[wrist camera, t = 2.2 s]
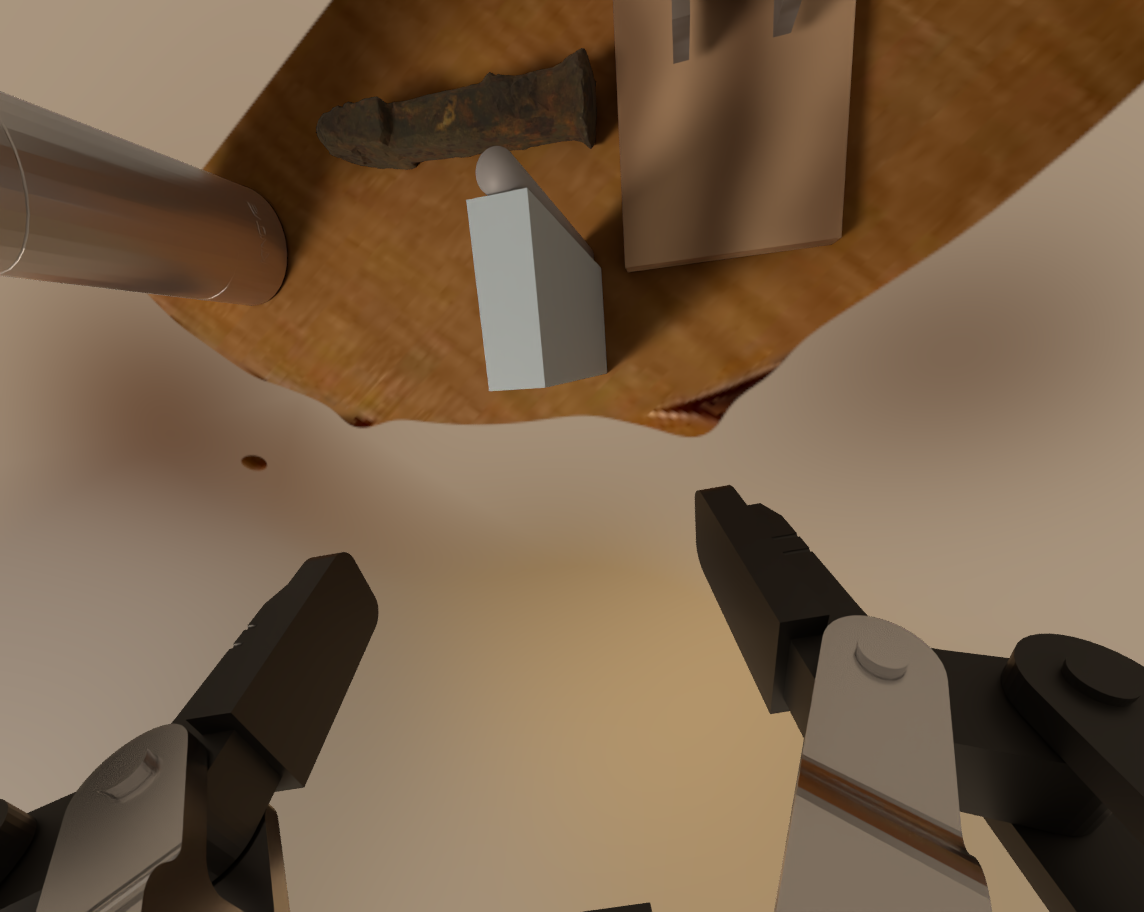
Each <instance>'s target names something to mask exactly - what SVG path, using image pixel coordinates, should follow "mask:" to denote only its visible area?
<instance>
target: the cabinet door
mask: <svg viewBox="0 0 1144 912" xmlns="http://www.w3.org/2000/svg"><path fill="white" fill-rule="evenodd" d="M476 179H477V183H478V185H479V187H480V188H481V190H482V191H483V192H484V193H486V194H487V195H488V196H484V197H479V198H475V199H470V200H466V202H467V210H468V218H469V226H470V235H471V243H472V251H473V260H474V268H475V276H476V284H477V293H478V301H479V309H480V318H481V326H482V334H483V343H484V351H485V359H486V367H487V376H488V384H489V391H499V390H515V389H530V388H545V387H550V386H554V385H558V384H563V383H567V382H571V381H576V380H580V379H585V378H589V377H593V376H598V375H602V374H606V373H607V361H606V344H605V326H604V309H603V292H602V274H601V267H600V266H599V265H598V264H597V263H596V262H595V261H594V253H593V250H592V249H591V247H590V246H589V245H588V244H587V243H586V241H585V240H584V239H583V238H582V237H581V235H580V234H579V233H578V232H577V231H576V230H575V228H574V227H573V226H572V225H571V224H570V222H569V221H568V220H567V219H566V218H565V216H564V215H563V214H562V213H561V212H560V211H559V209H558V208H557V207H556V206H555V205H554V203H553V202H552V201H551V200H550V199H549V198H548V196H547V195H546V194H545V193H544V192H543V190H542V189H541V188H540V187H539V186H538V184H537V183H536V182H535V181H534V180H533V179H532V177H531V176H530V175H529V174H528V173H527V171H526V170H525V169H524V168H523V167H522V165H521V164H520V163H519V162H518V161H517V160H516V158H515V157H514V156H513V155H512V154H511V152H510V151H509V150H507V149H506V148H504V147H501V146H493V147H490V148H488V149H487V150H485V151H484V152H483V153H482V154H481V156H480V158H479V160H478V162H477V166H476Z"/></svg>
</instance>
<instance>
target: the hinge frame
mask: <svg viewBox="0 0 1144 912" xmlns="http://www.w3.org/2000/svg"><path fill="white" fill-rule="evenodd" d="M855 6H856V0H613V13H614V35H615V57H616V79H617V101H618V123H619V145H620V167H621V189H622V211H623V233H624V255H625V268H626V270H627V271H628V272H634V271H641V270H649V269H656V268H663V267H670V266H678V265H685V264H692V263H700V262H707V261H714V260H722V259H729V258H736V257H744V256H751V255H758V254H765V253H773V252H780V251H787V250H795V249H802V248H809V247H817V246H824V245H831V244H833V243H835V242H836V241H837V240H839V239H840V238H841V235H842V218H843V202H844V186H845V170H846V153H847V137H848V121H849V104H850V88H851V72H852V55H853V39H854V23H855Z"/></svg>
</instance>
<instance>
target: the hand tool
mask: <svg viewBox="0 0 1144 912" xmlns="http://www.w3.org/2000/svg"><path fill="white" fill-rule="evenodd" d="M595 87H596V81H595V80H594V77H593V72H592V69H591V66H590V63H589V59H588V55H587V53H586V51H585V49H583V48H581V49H580V50H577V51H576V52H575V53H574V54H571V55H569V56H568V57H567V58H565V59H564V61H563V62H562V63H560V64H558V65H556V66H554V67H552V68H547V69H541V70H537V71H533V72H529V73H526V74H523V75H517V76H511V75H500V74H497V75H494V74H493V73H491V72H489V73H488V74H487V75H486V76H485V78H484V79H483V81H482V82H481V83H479V84H473V85H470V86H467V87H461V88H457V89H453V90H447V91H442V92H439V93H434V94H429V95H425V96H421V97H418V98H415V99H411V100H407V101H401V102H393V103H389V104H387V103H385V102H384V101H383V100H382V99H380V98H379V97H371V98H366V99H362V100H361V101H359V102H356V103H352V102H347V103H345V104H344V105H343V107H341V106H336V107H334V108H332V110H331V111H330V112H328V113H323V114H322V116H321V117H320V119H319V121H318V124H317V126H316V133H317V136H318V138H319V140H320V141H321V142H322V143H323V145H324V146H325V147H326V148H327V149H328V151H329V153H330V154H331V155H333V156H335V157H338V158H341V159H343V160H346V161H348V162H351V163H354V164H358V165H361V166H368V167H376V168H379V169H385V168H394V169H406V170H408V169H413V168H415V167H417V164H418V162H423V161H428V160H439V159H448V158H453V157H461V158H462V157H471V156H473V155H477V154H482V153H483V152H484V151H485V150H487V149H488V148H490V147H493V146H501V147H504V148H506V149H507V150H509V151H510V150H525V149H527V148H529V147H534V146H539V145H544V144H550V143H556V142H561V141H572V140H575V141H580V142H583V143H584V144H586V145H587V146H588V147H589V148H590V149H591V148H592V147H593V146H594V143H595V140H596V119H597V107H596V91H595Z"/></svg>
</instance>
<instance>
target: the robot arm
mask: <svg viewBox="0 0 1144 912" xmlns="http://www.w3.org/2000/svg"><path fill="white" fill-rule="evenodd" d="M286 266H287V247H286V240H285V236H284V232H283V229H282V226H281V224H280V221H279V219H278V217H277V215H276V213H275V212H274V210H273V209H272V207H271V206H270V204H269V203H268V202H267V201H266V200H265V199H264V198H263V197H262V196H261V195H260V194H258V193H257V192H255V191H253V190H252V189H250V188H247V187H245V186H242V185H240V184H237V183H234V182H232V181H229V180H227V179H224V178H222V177H219V176H217V175H214V174H211V173H209V172H206V171H204V170H201V169H199V168H196V167H194V166H192V165H189V164H186V163H184V162H181V161H179V160H176V159H173V158H171V157H168V156H166V155H163V154H160V153H158V152H155V151H153V150H150V149H148V148H145V147H142V146H140V145H137V144H135V143H132V142H130V141H127V140H125V139H122V138H120V137H117V136H114V135H112V134H109V133H107V132H104V131H101V130H99V129H96V128H94V127H91V126H88V125H86V124H83V123H81V122H78V121H76V120H73V119H70V118H68V117H65V116H63V115H60V114H58V113H55V112H52V111H50V110H47V109H45V108H42V107H40V106H37V105H34V104H32V103H29V102H27V101H24V100H21V99H19V98H17V97H14V96H11V95H9V94H6V93H4V92H1V91H0V276H5V277H13V278H21V279H30V280H38V281H47V282H56V283H64V284H73V285H81V286H90V287H99V288H106V289H115V290H124V291H132V292H140V293H149V294H158V295H166V296H175V297H183V298H192V299H198V300H207V301H216V302H225V303H233V304H242V305H251V306H252V305H259V304H262V303H264V302H266V301H268V300H269V299H270V298H272V297H273V296H274V295H275V294H276V292H277V291H278V289H279V288H280V286H281V284H282V281H283V279H284V276H285V271H286ZM695 522H696V545H697V553H698V557H699V561H700V564H701V567H702V570H703V572H704V574H705V576H706V579H707V581H708V583H709V585H710V587H711V589H712V591H713V593H714V596H715V598H716V600H717V602H718V604H719V606H720V608H721V610H722V613H723V614H724V617H725V619H726V621H727V623H728V625H729V627H730V630H731V632H732V634H733V636H734V638H735V640H736V642H737V644H738V646H739V649H740V651H741V653H742V655H743V657H744V659H745V661H746V663H747V666H748V668H749V670H750V672H751V674H752V676H753V679H754V681H755V683H756V685H757V687H758V689H759V691H760V693H761V695H762V698H763V700H764V702H765V704H766V706H767V708H768V710H769V713H770V714H774V713H780V712H786V711H790V712H791V714H792V716H793V718H794V720H795V722H796V724H797V725H798V728H799V729H800V732H801V733H802V735H803V737H804V742H803V748H802V753H801V759H800V765H799V771H798V776H797V783H796V788H795V794H794V799H793V805H792V811H791V817H790V823H789V829H788V834H787V840H786V846H785V852H784V858H783V863H782V869H781V874H780V880H779V886H778V891H777V898H776V903H775V909H774V912H992V909H991V902H990V896H989V891H988V887H987V883H986V879H985V876H984V873H983V870H982V868H981V866H980V864H979V862H978V860H977V859H976V858H975V857H974V856H972V855H970V854H969V853H968V852H967V850H966V848H965V845H964V841H963V837H962V831H961V821H960V812H964V813H969V814H973V815H977V816H982V817H984V819H985V820H986V822H987V823H988V825H989V826H990V827H991V829H992V830H993V832H994V833H995V835H996V836H997V837H998V839H999V840H1000V842H1001V843H1002V844H1003V846H1004V847H1005V849H1006V850H1007V852H1008V853H1009V854H1010V856H1011V857H1012V859H1013V860H1014V862H1015V863H1016V865H1017V866H1018V867H1019V869H1020V870H1021V872H1022V873H1023V874H1024V876H1025V877H1026V879H1027V880H1028V882H1029V883H1030V884H1031V886H1032V887H1033V889H1034V890H1035V892H1036V893H1037V894H1038V896H1039V897H1040V899H1041V900H1042V902H1043V903H1044V904H1045V906H1046V907H1047V909H1048V910H1049V912H1144V667H1143V666H1142V665H1140V664H1138V663H1137V662H1135V661H1133V660H1132V659H1129V658H1128V657H1125V656H1123V655H1122V654H1120V653H1118V652H1115V651H1113V650H1111V649H1108V648H1106V647H1104V646H1101V645H1098V644H1095V643H1092V642H1090V641H1086V640H1083V639H1079V638H1075V637H1071V636H1065V635H1059V634H1036V635H1030V636H1028V637H1025V638H1023V639H1022V640H1020V641H1019V642H1018V643H1017V645H1016V647H1015V649H1014V650H1013V652H1012V654H1011V656H1010V658H1003V657H995V656H987V655H978V654H971V653H963V652H954V651H947V650H939V649H934V648H930V647H929V646H928V645H927V644H926V643H924V641H923V640H921V639H920V638H919V637H917V636H916V635H914V634H913V633H911V632H910V631H908V630H906V629H905V628H903V627H901V626H898V625H896V624H894V623H892V622H889V621H886V620H883V619H880V618H875V617H870V616H867V614H866V613H865V612H864V611H863V610H862V609H861V608H860V607H859V606H858V604H857V603H856V602H855V601H854V600H853V599H852V597H851V596H850V595H849V594H848V593H847V592H846V590H845V589H844V588H843V587H842V586H841V585H840V584H839V582H838V581H837V580H836V579H835V577H834V576H833V575H832V574H831V573H830V572H829V571H828V569H827V568H826V567H825V566H824V565H823V563H822V562H821V561H820V560H819V559H818V558H817V556H816V555H815V554H814V553H813V552H810V550H809V547H808V546H807V545H806V544H805V542H804V541H803V540H802V539H801V538H800V537H798V536H797V533H796V532H795V531H794V529H793V528H792V527H791V526H790V525H789V524H788V522H787V521H786V520H785V519H784V518H783V517H782V516H781V515H779V514H778V513H776V512H774V511H773V510H771V509H769V508H768V507H766V506H764V505H762V504H761V503H759V504H753V505H746V503H745V502H744V500H743V499H742V498H741V497H740V495H739V494H738V493H737V491H736V490H735V489H734V487H732V486H731V485H727V486H722V487H715V488H710V489H704V490H699V491H696V493H695ZM377 621H378V604H377V600H376V598H375V596H374V594H373V592H372V591H371V589H370V587H369V585H368V583H367V582H366V580H365V578H364V576H363V574H362V573H361V571H360V569H359V567H358V565H357V564H356V562H355V560H354V559H353V557H352V556H351V555H350V554H348V553H346V552H342V553H336V554H331V555H324V556H318V557H312V558H310V559H308V560H306V561H305V562H304V564H303V565H302V566H301V568H300V569H299V570H298V572H297V573H296V574H295V576H294V577H293V578H292V580H291V581H290V582H289V583H288V585H286V586H285V587H284V588H283V589H282V590H281V591H279V592H278V593H277V594H276V595H275V596H273V598H271V599H270V600H269V601H268V602H266V603H265V604H264V605H263V607H262V608H261V609H260V611H259V612H258V613H257V614H256V616H255V617H254V618H253V619H252V621H251V622H250V623H249V625H248V629H247V630H244V631H243V632H242V634H241V635H240V636H239V637H238V639H237V640H236V641H235V643H234V644H233V645H234V647H233V648H232V649H229V651H228V652H227V653H226V654H225V655H224V657H223V658H222V659H221V661H220V662H219V663H218V664H217V666H216V667H215V668H214V670H213V671H212V672H211V673H210V675H209V676H208V677H207V679H206V680H205V681H204V682H203V684H202V685H201V686H200V688H199V689H198V690H197V691H196V693H195V694H194V695H193V697H192V698H191V699H190V700H189V702H188V703H187V704H186V705H185V707H184V708H183V709H182V711H181V712H180V713H179V715H178V716H177V717H176V718H175V720H174V721H173V722H172V723H171V724H168V725H163V726H160V727H157V728H154V729H152V730H150V731H147V732H145V733H143V734H142V735H140V736H138V737H136V738H135V739H133V740H131V741H130V742H128V743H127V744H125V745H124V746H123V747H121V748H120V749H119V750H117V751H116V752H115V753H113V754H112V755H111V756H110V757H109V758H108V759H106V760H105V761H104V762H103V763H102V764H101V765H100V766H99V767H98V768H97V769H95V771H94V772H93V773H92V774H91V775H90V776H89V777H88V778H87V779H86V780H85V782H84V783H83V784H82V785H81V786H80V788H79V789H78V790H77V792H74V793H72V794H70V795H68V796H65V797H63V798H61V799H59V800H56V801H54V802H52V803H50V804H47V805H45V806H43V807H40V808H38V809H36V810H34V811H32V812H29V813H25V812H24V811H22V810H20V809H19V808H17V807H15V806H13V805H11V804H10V803H8V802H6V801H5V800H3V799H0V912H290V907H289V899H288V891H287V883H286V875H285V867H284V860H283V852H282V844H281V836H280V828H279V821H278V815H277V812H276V810H275V809H274V808H273V807H272V806H271V805H270V804H269V802H270V800H271V798H272V796H273V794H274V792H277V791H284V790H290V789H297V788H303V787H305V784H306V782H307V780H308V778H309V775H310V773H311V771H312V769H313V766H314V764H315V762H316V759H317V757H318V755H319V753H320V751H321V748H322V746H323V744H324V742H325V739H326V737H327V735H328V733H329V730H330V728H331V726H332V724H333V722H334V719H335V717H336V715H337V713H338V710H339V708H340V706H341V704H342V701H343V699H344V697H345V695H346V692H347V690H348V688H349V686H350V683H351V681H352V679H353V677H354V674H355V672H356V670H357V667H358V665H359V663H360V661H361V658H362V656H363V654H364V652H365V650H366V647H367V645H368V643H369V641H370V638H371V636H372V634H373V632H374V630H375V627H376V624H377ZM585 912H652V909H651V905H650V903H643V904H635V905H628V906H621V907H614V908H607V909H599V910H592V911H585Z"/></svg>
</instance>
